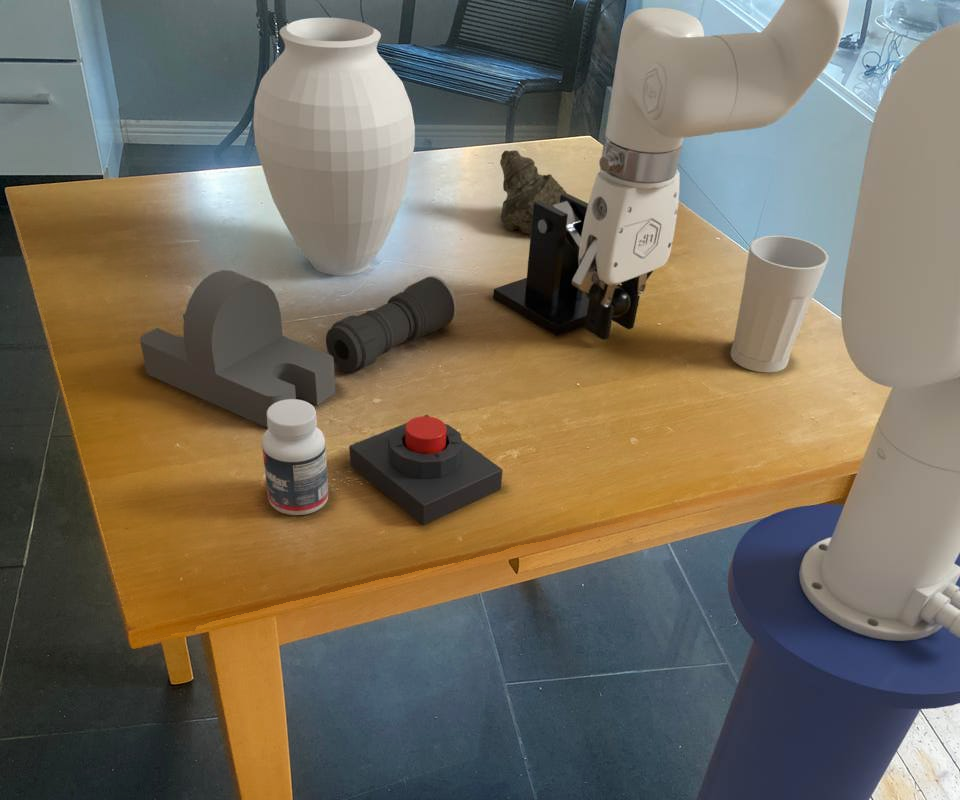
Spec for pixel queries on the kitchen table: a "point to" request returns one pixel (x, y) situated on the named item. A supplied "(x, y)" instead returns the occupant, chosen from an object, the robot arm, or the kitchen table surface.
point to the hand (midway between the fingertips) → (609, 327)
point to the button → (425, 435)
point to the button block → (425, 473)
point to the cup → (775, 300)
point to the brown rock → (525, 190)
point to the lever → (620, 296)
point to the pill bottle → (295, 458)
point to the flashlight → (391, 323)
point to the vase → (334, 141)
